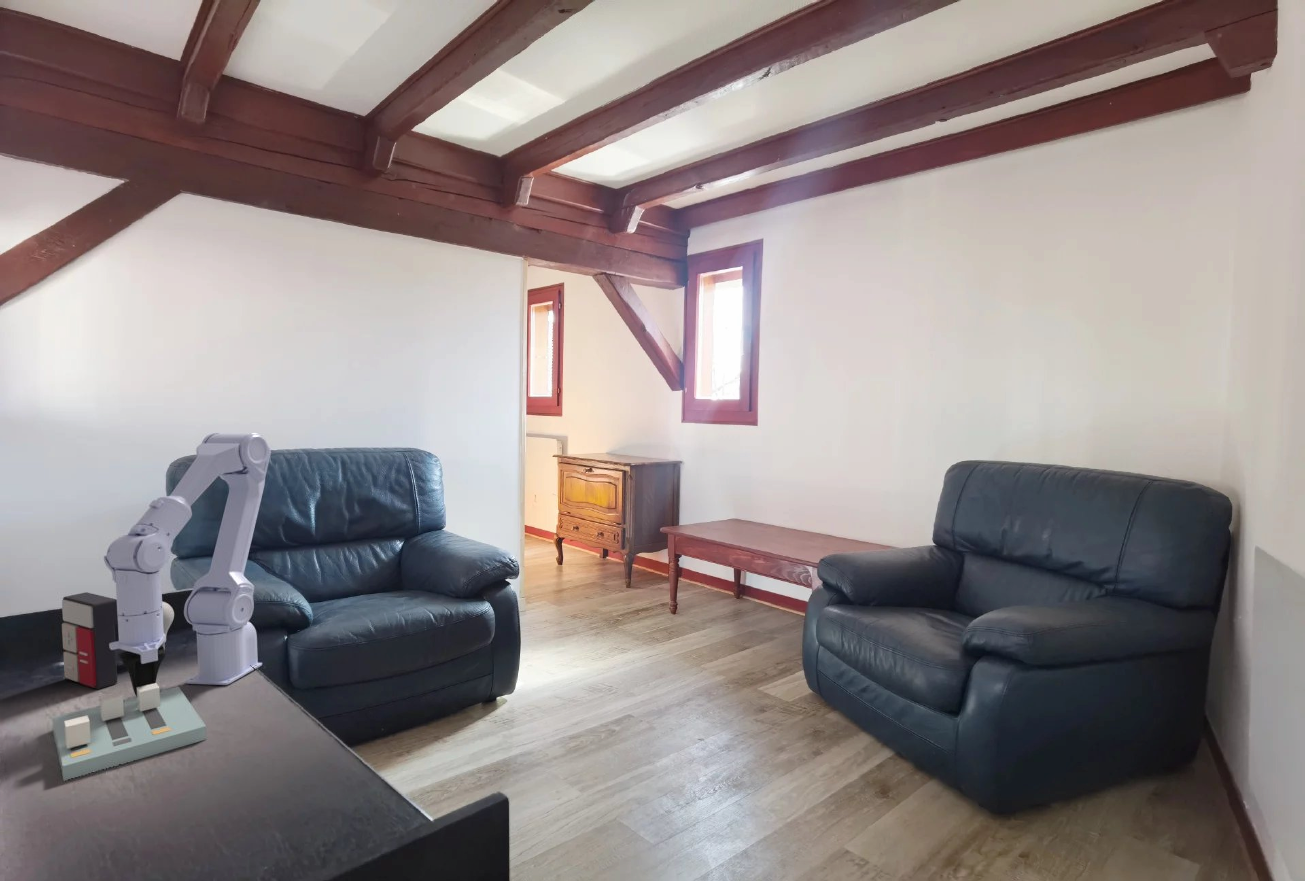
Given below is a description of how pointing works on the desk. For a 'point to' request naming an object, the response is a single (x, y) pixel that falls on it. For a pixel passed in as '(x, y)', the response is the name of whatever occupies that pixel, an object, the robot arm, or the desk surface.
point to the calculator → (89, 639)
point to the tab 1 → (77, 731)
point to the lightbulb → (167, 618)
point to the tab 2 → (111, 706)
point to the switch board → (129, 734)
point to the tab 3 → (148, 697)
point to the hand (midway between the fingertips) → (144, 695)
